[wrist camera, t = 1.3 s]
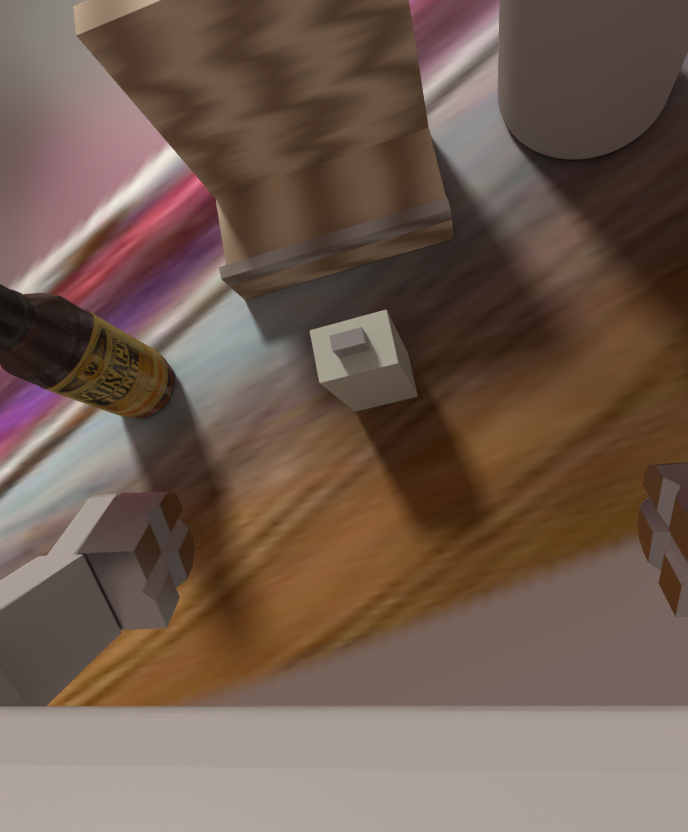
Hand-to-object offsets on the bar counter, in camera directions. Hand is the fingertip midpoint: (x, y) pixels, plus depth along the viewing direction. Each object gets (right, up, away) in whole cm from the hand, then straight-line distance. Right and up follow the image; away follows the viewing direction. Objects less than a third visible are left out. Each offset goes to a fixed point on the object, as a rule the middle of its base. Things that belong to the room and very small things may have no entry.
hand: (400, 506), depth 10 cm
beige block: (+2, +4, +35) cm, 35 cm away
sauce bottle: (-18, +4, +40) cm, 44 cm away
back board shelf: (-2, +18, +38) cm, 42 cm away
